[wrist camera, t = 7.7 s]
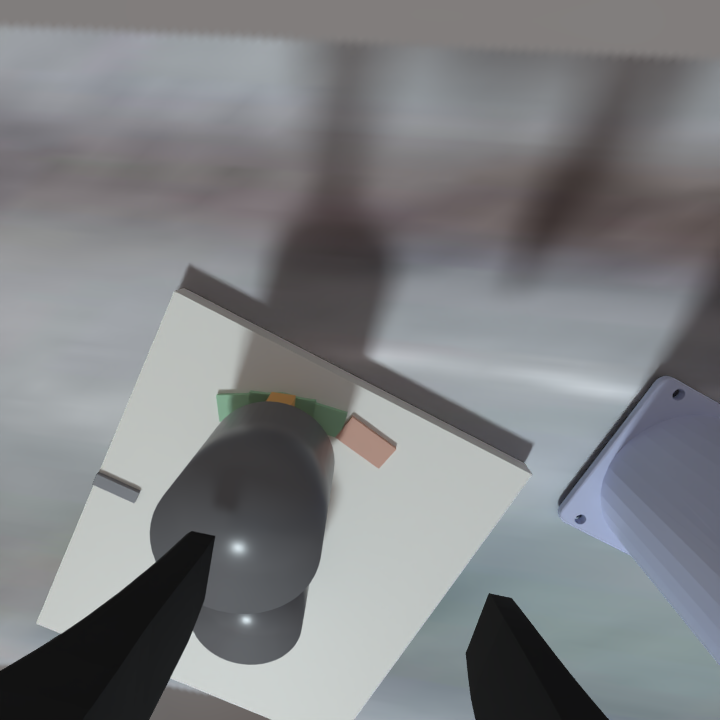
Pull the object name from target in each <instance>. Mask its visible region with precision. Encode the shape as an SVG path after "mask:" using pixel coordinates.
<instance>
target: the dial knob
mask: <svg viewBox="0 0 720 720" xmlns="http://www.w3.org/2000/svg"><path fill="white" fill-rule="evenodd" d="M295 399H296V395H290V394H283V393H276V392H271V394H270V395H269V397H268V398H267V400H266V401H265V402H256V403H251V404H248V405H245V406H242V407H240V408H238V409H236V410H234V411H233V412H231V413H230V414H229V415H228V416H226V417H225V418H224V419H223V420H222V421H221V423H220V424H219V425H218V426H217V428H216V429H215V430H214V431H213V433H212V434H211V435H210V436H209V438H208V439H207V440H206V442H205V443H204V444H203V445H202V447H201V448H200V449H199V451H198V452H197V453H196V454H195V456H194V457H193V458H192V459H191V461H190V462H189V463H188V465H187V466H186V467H185V468H184V470H183V471H182V472H181V474H180V475H179V476H178V477H177V479H176V480H175V481H174V483H173V484H172V485H171V486H170V488H169V489H168V490H167V491H166V493H165V494H164V495H163V497H162V498H161V500H160V501H159V503H158V504H157V506H156V508H155V511H154V513H153V516H152V520H151V524H150V544H151V549H152V553H153V556H154V558H155V561H157V560H159V559H160V558H161V557H162V556H163V555H164V554H165V553H167V552H168V551H169V550H170V549H171V548H172V547H173V546H174V545H175V544H176V543H177V542H179V541H180V540H181V539H182V538H183V537H184V536H185V535H186V534H187V533H189V532H191V531H194V532H199V533H204V534H209V535H213V536H215V541H214V547H213V553H212V559H211V565H210V571H209V577H208V583H207V589H206V595H205V600H204V603H203V606H202V608H201V611H200V613H199V616H198V619H197V621H196V624H195V626H194V629H193V632H194V633H195V635H196V637H197V639H198V640H199V641H200V643H201V644H202V645H203V646H204V647H205V648H206V649H208V650H209V651H210V652H211V653H213V654H214V655H216V656H218V657H220V658H222V659H224V660H227V661H230V662H233V663H238V664H245V665H258V664H264V663H269V662H272V661H275V660H277V659H279V658H281V657H283V656H284V655H286V654H287V653H288V652H289V651H290V650H291V649H292V648H293V647H294V646H295V645H296V643H297V641H298V639H299V637H300V634H301V630H302V625H303V619H304V613H305V607H306V601H307V596H308V590H309V584H310V583H311V581H312V579H313V578H314V576H315V574H316V572H317V569H318V567H319V563H320V559H321V553H322V546H323V540H324V533H325V526H326V520H327V513H328V507H329V500H330V493H331V487H332V480H333V473H334V464H335V460H334V451H333V447H332V444H331V441H330V439H329V437H328V435H327V433H326V432H325V431H324V429H323V428H322V426H321V425H320V424H319V423H318V422H317V421H316V420H315V419H314V418H313V417H311V416H310V415H309V414H307V413H306V412H304V411H303V410H301V409H298V408H296V407H295Z"/></svg>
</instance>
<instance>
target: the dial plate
mask: <svg viewBox="0 0 720 720" xmlns="http://www.w3.org/2000/svg"><path fill="white" fill-rule="evenodd" d="M271 392H276V393H283V394H290V395H296V399H295V407H296V408H298V409H301V410H303V411H304V412H306V413H307V414H309V415H310V416H311V417H313V418H314V419H315V420H316V421H317V422H318V423H319V424H320V425H321V426H322V428H323V429H324V431H325V432H326V433H327V435H328V437H329V439H330V441H331V444H332V447H333V451H334V460H335V464H334V473H333V480H332V487H331V493H330V500H329V507H328V513H327V520H326V526H325V533H324V540H323V546H322V553H321V559H320V563H319V567H318V569H317V572H316V574H315V576H314V578H313V579H312V581H311V583H310V584H309V590H308V596H307V601H306V607H305V613H304V619H303V625H302V630H301V634H300V637H299V639H298V641H297V643H296V645H295V646H294V647H293V648H292V649H291V650H290V651H289V652H288V653H287V654H286V655H284V656H283V657H281V658H279V659H277V660H275V661H272V662H269V663H264V664H258V665H245V664H238V663H233V662H230V661H227V660H224V659H222V658H220V657H218V656H216V655H214V654H213V653H211V652H210V651H209V650H208V649H206V648H205V647H204V646H203V645H202V644H201V643H200V641H199V640H198V639H197V637H196V635H195V633H194V632H193V631H192V634H191V636H190V639H189V641H188V644H187V646H186V648H185V650H184V652H183V654H182V656H181V658H180V660H179V662H178V664H177V666H176V668H175V670H174V672H173V674H172V676H171V677H170V678H171V679H173V680H176V681H178V682H181V683H183V684H186V685H188V686H190V687H193V688H195V689H198V690H200V691H203V692H205V693H208V694H210V695H213V696H215V697H217V698H220V699H222V700H225V701H227V702H230V703H232V704H235V705H237V706H240V707H242V708H244V709H247V710H249V711H252V712H254V713H257V714H259V715H262V716H264V717H266V718H269V719H271V720H354V719H355V717H356V716H357V715H358V713H359V712H360V711H361V709H362V708H363V706H364V705H365V704H366V702H367V701H368V700H369V698H370V697H371V695H372V694H373V693H374V691H375V690H376V689H377V687H378V686H379V685H380V683H381V682H382V680H383V679H384V678H385V676H386V675H387V674H388V672H389V671H390V669H391V668H392V667H393V665H394V664H395V663H396V661H397V660H398V658H399V657H400V656H401V654H402V653H403V652H404V650H405V649H406V647H407V646H408V645H409V643H410V642H411V641H412V639H413V638H414V637H415V635H416V634H417V632H418V631H419V630H420V628H421V627H422V626H423V624H424V623H425V621H426V620H427V619H428V617H429V616H430V615H431V613H432V612H433V610H434V609H435V608H436V606H437V605H438V604H439V602H440V601H441V599H442V598H443V597H444V595H445V594H446V593H447V591H448V590H449V589H450V587H451V586H452V584H453V583H454V582H455V580H456V579H457V578H458V576H459V575H460V573H461V572H462V571H463V569H464V568H465V567H466V565H467V564H468V562H469V561H470V560H471V558H472V557H473V556H474V554H475V553H476V551H477V550H478V549H479V547H480V546H481V545H482V543H483V542H484V540H485V539H486V538H487V536H488V535H489V534H490V532H491V531H492V530H493V528H494V527H495V525H496V524H497V523H498V521H499V520H500V519H501V517H502V516H503V514H504V513H505V512H506V510H507V509H508V508H509V506H510V505H511V503H512V502H513V501H514V499H515V498H516V497H517V495H518V494H519V492H520V491H521V490H522V488H523V487H524V486H525V484H526V483H527V482H528V480H529V479H530V477H531V476H532V473H531V472H530V470H529V469H528V467H527V466H526V464H525V463H523V462H521V461H519V460H517V459H515V458H513V457H511V456H510V455H508V454H506V453H504V452H502V451H500V450H498V449H496V448H494V447H492V446H490V445H488V444H486V443H484V442H482V441H480V440H478V439H477V438H475V437H473V436H471V435H469V434H467V433H465V432H463V431H461V430H459V429H457V428H455V427H453V426H451V425H449V424H447V423H445V422H444V421H442V420H440V419H438V418H436V417H434V416H432V415H430V414H428V413H426V412H424V411H422V410H420V409H418V408H416V407H414V406H412V405H411V404H409V403H407V402H405V401H403V400H401V399H399V398H397V397H395V396H393V395H391V394H389V393H387V392H385V391H383V390H381V389H379V388H377V387H376V386H374V385H372V384H370V383H368V382H366V381H364V380H362V379H360V378H358V377H356V376H354V375H352V374H350V373H348V372H346V371H344V370H343V369H341V368H339V367H337V366H335V365H333V364H331V363H329V362H327V361H325V360H323V359H321V358H319V357H317V356H315V355H313V354H311V353H310V352H308V351H306V350H304V349H302V348H300V347H298V346H296V345H294V344H292V343H290V342H288V341H286V340H284V339H282V338H280V337H278V336H276V335H275V334H273V333H271V332H269V331H267V330H265V329H263V328H261V327H259V326H257V325H255V324H253V323H251V322H249V321H247V320H245V319H243V318H242V317H240V316H238V315H236V314H234V313H232V312H230V311H228V310H226V309H224V308H222V307H220V306H218V305H216V304H214V303H212V302H210V301H209V300H207V299H205V298H203V297H201V296H199V295H197V294H195V293H193V292H191V291H189V290H187V289H185V288H182V289H179V290H176V291H174V293H173V295H172V298H171V300H170V302H169V305H168V307H167V310H166V312H165V314H164V317H163V319H162V322H161V324H160V326H159V329H158V331H157V334H156V336H155V338H154V341H153V343H152V346H151V348H150V351H149V353H148V355H147V358H146V360H145V363H144V365H143V367H142V370H141V372H140V375H139V377H138V379H137V382H136V384H135V387H134V389H133V391H132V394H131V396H130V399H129V401H128V404H127V406H126V408H125V411H124V413H123V416H122V418H121V420H120V423H119V425H118V428H117V430H116V432H115V435H114V437H113V440H112V442H111V444H110V447H109V449H108V452H107V454H106V457H105V459H104V461H103V464H102V466H101V469H100V471H99V472H98V473H97V474H96V477H95V479H94V481H93V484H92V485H93V488H92V490H91V493H90V495H89V497H88V500H87V502H86V505H85V507H84V510H83V512H82V514H81V517H80V519H79V522H78V524H77V526H76V529H75V531H74V534H73V536H72V538H71V541H70V543H69V546H68V548H67V550H66V553H65V555H64V558H63V560H62V562H61V565H60V567H59V570H58V572H57V575H56V577H55V579H54V582H53V584H52V587H51V589H50V591H49V594H48V596H47V599H46V601H45V603H44V606H43V608H42V611H41V613H40V615H39V618H38V620H37V623H36V624H39V625H41V626H43V627H46V628H48V629H51V630H53V631H56V632H58V633H63V632H64V631H66V630H67V629H69V628H70V627H72V626H73V625H75V624H76V623H78V622H79V621H81V620H82V619H83V618H85V617H86V616H88V615H89V614H90V613H92V612H93V611H94V610H96V609H97V608H98V607H100V606H101V605H103V604H104V603H105V602H107V601H108V600H109V599H111V598H112V597H113V596H115V595H116V594H117V593H119V592H120V591H121V590H122V589H124V588H125V587H126V586H127V585H129V584H130V583H131V582H132V581H134V580H135V579H136V578H137V577H138V576H140V575H141V574H142V573H143V572H145V571H146V570H147V569H148V568H149V567H151V566H152V565H153V564H154V563H155V562H156V561H155V558H154V556H153V553H152V549H151V544H150V524H151V520H152V516H153V513H154V511H155V508H156V506H157V504H158V503H159V501H160V500H161V498H162V497H163V495H164V494H165V493H166V491H167V490H168V489H169V488H170V486H171V485H172V484H173V483H174V481H175V480H176V479H177V477H178V476H179V475H180V474H181V472H182V471H183V470H184V468H185V467H186V466H187V465H188V463H189V462H190V461H191V459H192V458H193V457H194V456H195V454H196V453H197V452H198V451H199V449H200V448H201V447H202V445H203V444H204V443H205V442H206V440H207V439H208V438H209V436H210V435H211V434H212V433H213V431H214V430H215V429H216V428H217V426H218V425H219V424H220V423H221V421H222V420H223V419H224V418H225V417H226V416H228V415H229V414H230V413H231V412H233V411H234V410H236V409H238V408H240V407H242V406H245V405H248V404H251V403H256V402H265V401H266V400H267V398H268V397H269V395H270V394H271Z"/></svg>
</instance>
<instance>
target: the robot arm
mask: <svg viewBox="0 0 720 720" xmlns="http://www.w3.org/2000/svg"><path fill="white" fill-rule="evenodd" d="M677 389H679V393H678V395H676V396H675V397H673V396H672V395H673V393H674V391H676V390H677ZM558 515H559V517H560V518H561V520H562V521H564V522H565V523H567V524H569V525H571V526H573V527H575V528H577V529H579V530H581V531H583V532H585V533H587V534H589V535H591V536H593V537H595V538H597V539H599V540H601V541H603V542H605V543H607V544H609V545H611V546H613V547H615V548H617V549H618V550H620V551H622V552H624V553H626V554H628V555H630V556H632V557H633V559H634V560H635V561H636V562H637V564H638V565H639V566H640V567H641V568H642V570H643V571H644V572H645V573H646V575H647V576H648V577H649V578H650V580H651V581H652V582H653V583H654V585H655V586H656V587H657V588H658V590H659V591H660V592H661V593H662V595H663V596H664V597H665V598H666V600H667V601H668V602H669V603H670V604H671V606H672V607H673V608H674V609H675V611H676V612H677V613H678V614H679V616H680V617H681V618H682V619H683V621H684V622H685V623H686V624H687V626H688V627H689V628H690V629H691V631H692V632H693V633H694V634H695V636H696V637H697V638H698V639H699V641H700V642H701V643H702V644H703V645H704V647H705V648H706V649H707V650H708V652H709V653H710V654H711V655H712V657H713V658H714V659H715V660H716V662H717V663H718V664H719V665H720V404H719V403H717V402H716V401H714V400H712V399H710V398H709V397H707V396H705V395H703V394H702V393H700V392H698V391H696V390H694V389H693V388H691V387H689V386H687V385H686V384H684V383H682V382H680V381H679V380H677V379H675V378H673V377H670V376H662V377H660V378H658V379H657V380H656V381H655V382H654V383H653V385H652V386H651V387H650V388H649V390H648V391H647V392H646V394H645V395H644V396H643V398H642V399H641V400H640V402H639V403H638V404H637V405H636V407H635V408H634V409H633V411H632V412H631V413H630V415H629V416H628V417H627V418H626V420H625V421H624V422H623V424H622V425H621V426H620V428H619V429H618V430H617V432H616V433H615V434H614V435H613V437H612V438H611V439H610V441H609V442H608V443H607V445H606V446H605V447H604V449H603V450H602V451H601V452H600V454H599V455H598V456H597V458H596V459H595V460H594V462H593V463H592V464H591V465H590V467H589V468H588V469H587V471H586V472H585V473H584V475H583V476H582V477H581V479H580V480H579V481H578V482H577V484H576V485H575V486H574V488H573V489H572V490H571V492H570V493H569V494H568V496H567V497H566V498H565V499H564V501H563V502H562V503H561V505H560V506H559V508H558ZM578 515H582V517H580V518H579V519H575V518H576V516H578ZM214 541H215V536H213V535H209V534H204V533H199V532H194V531H191V532H189V533H187V534H186V535H185V536H184V537H183V538H182V539H181V540H180V541H179V542H177V543H176V544H175V545H174V546H173V547H172V548H171V549H170V550H169V551H168V552H167V553H165V554H164V555H163V556H162V557H161V558H160V559H159V560H157V561H156V562H155V563H154V564H153V565H152V566H151V567H149V568H148V569H147V570H146V571H145V572H143V573H142V574H141V575H140V576H138V577H137V578H136V579H135V580H134V581H132V582H131V583H130V584H129V585H127V586H126V587H125V588H124V589H122V590H121V591H120V592H119V593H117V594H116V595H115V596H113V597H112V598H111V599H109V600H108V601H107V602H105V603H104V604H103V605H101V606H100V607H98V608H97V609H96V610H94V611H93V612H92V613H90V614H89V615H88V616H86V617H85V618H83V619H82V620H81V621H79V622H78V623H76V624H75V625H73V626H72V627H70V628H69V629H67V630H66V631H64V632H63V633H61V634H60V635H58V636H57V637H55V638H54V639H52V640H51V641H49V642H47V643H46V644H44V645H43V646H41V647H40V648H38V649H36V650H35V651H33V652H31V653H30V654H28V655H26V656H25V657H23V658H21V659H19V660H18V661H16V662H14V663H13V664H11V665H9V666H8V667H6V668H4V669H3V670H1V671H0V720H149V719H150V717H151V715H152V713H153V711H154V709H155V707H156V705H157V703H158V701H159V699H160V697H161V695H162V693H163V691H164V689H165V687H166V685H167V683H168V681H169V679H170V677H171V676H172V674H173V672H174V670H175V668H176V666H177V664H178V662H179V660H180V658H181V656H182V654H183V652H184V650H185V648H186V646H187V644H188V641H189V639H190V636H191V634H192V631H193V629H194V626H195V624H196V621H197V619H198V616H199V613H200V611H201V608H202V606H203V603H204V600H205V595H206V589H207V583H208V577H209V571H210V565H211V559H212V553H213V547H214ZM466 660H467V669H468V679H469V687H470V695H471V701H472V706H473V710H474V715H475V719H476V720H609V719H608V718H607V717H606V716H605V715H604V713H603V712H602V711H601V710H600V709H599V708H598V706H597V705H596V704H595V703H594V702H593V701H592V699H591V698H590V697H589V696H588V695H587V693H586V692H585V691H584V690H583V689H582V687H581V686H580V685H579V684H578V683H577V681H576V680H575V679H574V678H573V676H572V675H571V674H570V673H569V671H568V670H567V669H566V668H565V666H564V665H563V664H562V663H561V661H560V660H559V659H558V657H557V656H556V655H555V654H554V652H553V651H552V650H551V648H550V647H549V646H548V644H547V643H546V642H545V641H544V639H543V638H542V637H541V635H540V634H539V633H538V631H537V630H536V629H535V627H534V626H533V625H532V624H531V622H530V621H529V620H528V618H527V617H526V616H525V614H524V613H523V612H522V611H521V609H520V608H519V607H518V605H517V604H516V603H515V602H514V601H513V599H512V598H509V597H504V596H499V595H494V594H490V593H489V595H488V597H487V600H486V602H485V605H484V607H483V610H482V613H481V615H480V618H479V620H478V623H477V626H476V628H475V631H474V633H473V636H472V639H471V641H470V644H469V646H468V649H467V652H466Z"/></svg>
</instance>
